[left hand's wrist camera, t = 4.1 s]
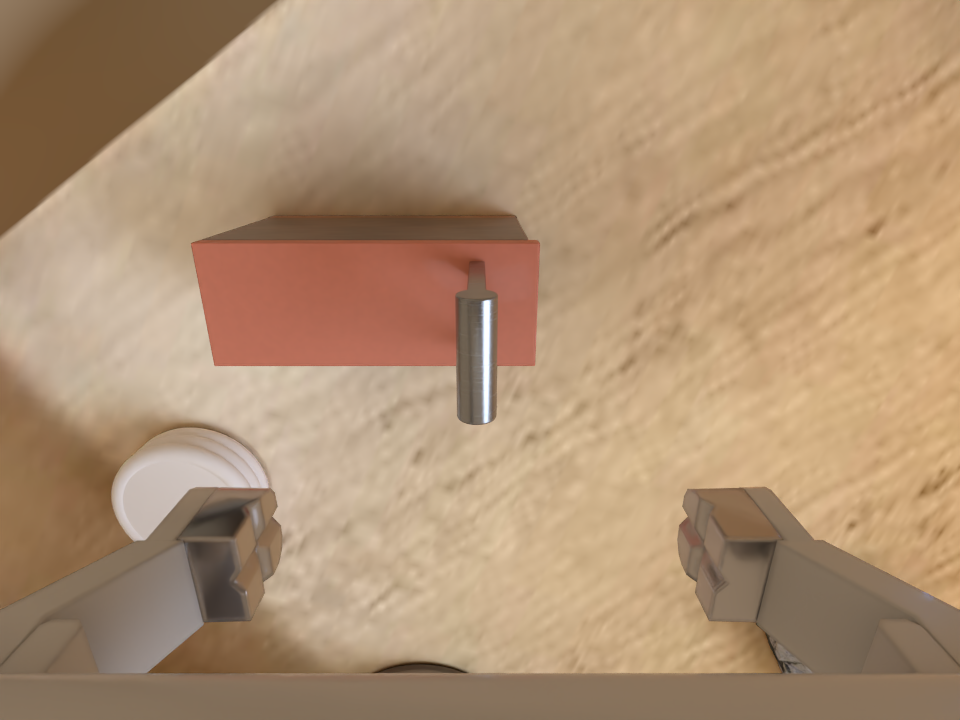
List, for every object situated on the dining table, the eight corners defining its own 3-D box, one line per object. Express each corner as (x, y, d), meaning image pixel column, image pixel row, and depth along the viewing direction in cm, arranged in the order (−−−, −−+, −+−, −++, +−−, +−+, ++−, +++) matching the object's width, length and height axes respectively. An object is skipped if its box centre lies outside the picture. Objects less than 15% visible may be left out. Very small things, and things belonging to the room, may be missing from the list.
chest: (515, 215, 34) (529, 239, 25) (513, 307, 36) (525, 359, 27) (273, 215, 34) (200, 239, 25) (286, 307, 36) (222, 359, 27)
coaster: (270, 544, 43) (253, 577, 39) (141, 527, 42) (113, 559, 39) (273, 434, 39) (254, 461, 36) (132, 414, 38) (100, 439, 35)
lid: (537, 240, 25) (564, 279, 17) (533, 359, 27) (554, 441, 19) (199, 240, 25) (77, 279, 17) (222, 359, 27) (121, 442, 19)
